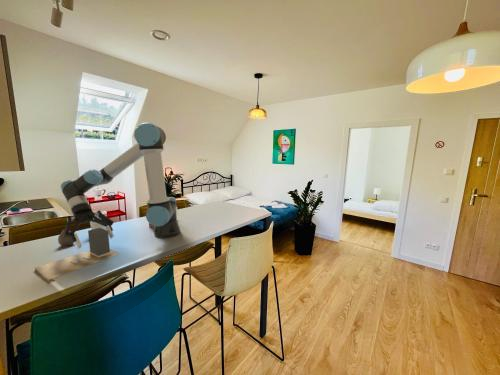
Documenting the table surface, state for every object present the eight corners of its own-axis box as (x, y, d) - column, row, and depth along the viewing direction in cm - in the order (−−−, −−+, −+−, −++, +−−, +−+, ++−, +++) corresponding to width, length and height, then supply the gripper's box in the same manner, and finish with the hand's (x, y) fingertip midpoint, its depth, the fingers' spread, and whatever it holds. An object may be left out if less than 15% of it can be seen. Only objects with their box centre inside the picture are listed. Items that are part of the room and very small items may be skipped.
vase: (55, 246, 111) (53, 230, 110) (70, 241, 118) (68, 226, 116) (64, 248, 109) (62, 232, 108) (78, 243, 115) (77, 228, 114)
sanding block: (110, 253, 102) (108, 230, 100) (98, 257, 98) (96, 234, 96) (101, 249, 106) (99, 227, 104) (90, 253, 102) (87, 230, 100)
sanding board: (103, 248, 110) (103, 245, 110) (120, 255, 102) (119, 253, 102) (34, 270, 88) (34, 267, 88) (49, 282, 80) (48, 279, 80)
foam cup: (86, 234, 128) (84, 213, 127) (101, 229, 137) (99, 210, 135) (96, 236, 125) (94, 215, 123) (111, 231, 134) (110, 211, 132)
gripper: (105, 206, 119) (121, 237, 113) (45, 216, 97) (62, 255, 92) (109, 198, 115) (126, 230, 110) (48, 207, 94) (65, 247, 88)
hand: (97, 241), depth 101 cm, fingers open, 13 cm apart
